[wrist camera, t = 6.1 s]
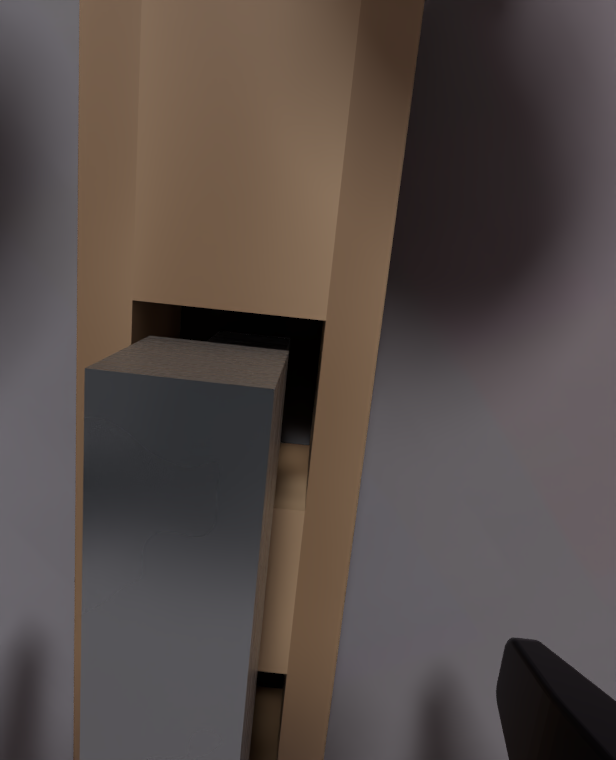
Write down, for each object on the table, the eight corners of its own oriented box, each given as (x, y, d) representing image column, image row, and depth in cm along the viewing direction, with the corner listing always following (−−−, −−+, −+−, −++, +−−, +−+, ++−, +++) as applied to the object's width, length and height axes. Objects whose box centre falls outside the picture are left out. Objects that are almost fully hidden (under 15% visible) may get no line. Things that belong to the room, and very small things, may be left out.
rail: (405, -13, 10) (441, -122, 7) (294, 874, 14) (286, 1033, 12) (152, -40, 10) (81, -159, 7) (121, 856, 14) (71, 1009, 12)
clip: (302, 314, 11) (273, 388, 5) (265, 676, 13) (215, 1020, 7) (211, 304, 11) (84, 368, 5) (188, 667, 13) (76, 1005, 7)
